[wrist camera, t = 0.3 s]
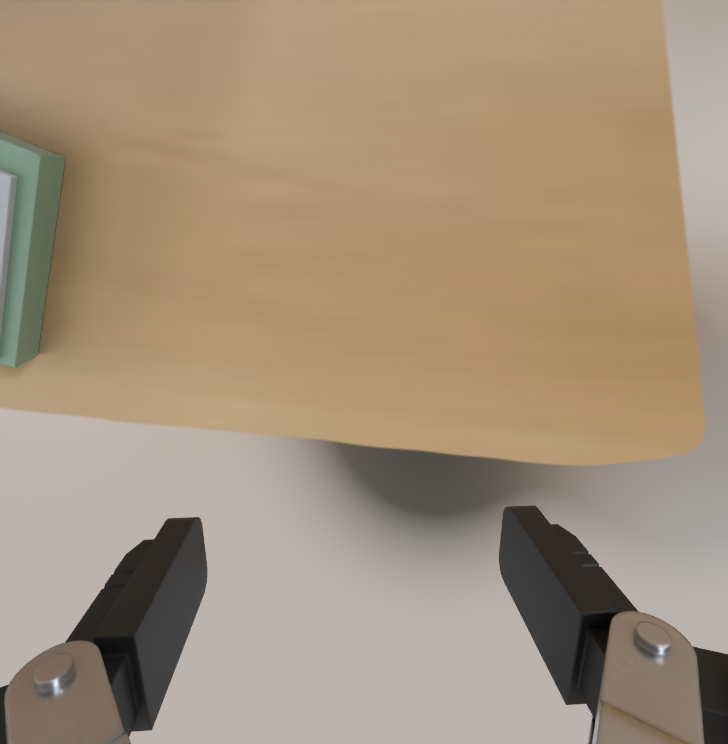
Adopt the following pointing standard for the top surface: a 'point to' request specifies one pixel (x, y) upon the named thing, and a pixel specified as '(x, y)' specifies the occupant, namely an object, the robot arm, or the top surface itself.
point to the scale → (25, 243)
